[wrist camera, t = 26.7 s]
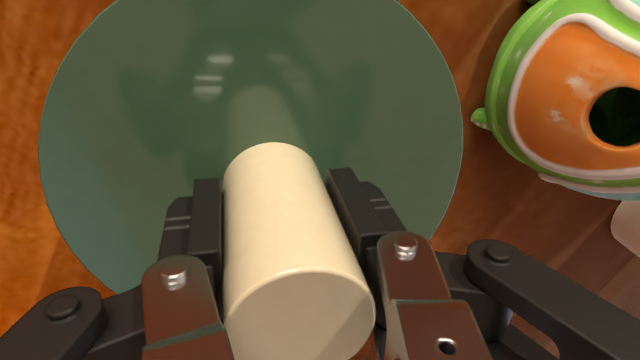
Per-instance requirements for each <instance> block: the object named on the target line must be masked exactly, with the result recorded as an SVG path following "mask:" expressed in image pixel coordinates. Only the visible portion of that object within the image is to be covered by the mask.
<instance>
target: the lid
mask: <svg viewBox="0 0 640 360" xmlns="http://www.w3.org/2000/svg"><path fill="white" fill-rule="evenodd" d="M462 153H463V120H462V113H461V106H460V100H459V96H458V93H457V89H456V86H455V83H454V79H453V76H452V74H451V72H450V70H449V68H448V65H447V63H446V61H445V59H444V57H443V54H442V53H441V51H440V50H439V48H438V47H437V45H436V44H435V42H434V41H433V39H432V38H431V36H430V34H429V33H428V31H427V30H426V29H425V28H424V27H423V26H422V25H421V24H420V23H419V21H418V20H417V19H416V18H415V17H414V16H413V15H412V14H411V12H410V11H409V10H407V9H406V8H405V7H404V6H403V5H401V4H400V3H399V2H398V1H397V0H116V1H114V2H113V3H112V4H111V5H109V6H108V7H107V8H105V9H104V10H103V11H102V12H100V13H99V14H98V15H97V16H96V18H95V19H94V20H93V21H92V22H91V23H90V24H89V25H88V26H87V27H86V28H85V29H84V31H83V32H82V33H81V34H80V35H79V36H78V37H77V38H76V40H75V41H74V43H73V44H72V46H71V48H70V49H69V51H68V52H67V54H66V55H65V57H64V58H63V60H62V61H61V63H60V64H59V66H58V69H57V71H56V73H55V76H54V78H53V80H52V82H51V85H50V87H49V89H48V92H47V94H46V98H45V102H44V106H43V111H42V115H41V119H40V124H39V137H38V161H39V172H40V180H41V184H42V188H43V191H44V195H45V199H46V203H47V206H48V208H49V211H50V213H51V215H52V217H53V220H54V222H55V224H56V227H57V229H58V230H59V232H60V234H61V235H62V237H63V238H64V240H65V242H66V243H67V245H68V246H69V248H70V250H71V251H72V252H73V253H74V254H75V256H76V257H77V258H78V259H79V260H80V262H81V263H82V264H83V265H84V266H85V268H86V269H87V270H88V271H89V272H90V273H92V274H93V275H94V276H95V277H96V278H97V279H98V280H99V281H100V282H101V283H103V284H104V285H105V286H106V287H107V288H109V289H110V290H112V291H113V292H115V293H116V294H120V293H123V292H126V291H128V290H130V289H133V288H135V287H136V286H138V285H140V284H141V280H142V276H143V274H144V272H145V271H146V270H147V269H148V268H149V267H150V266H151V265H152V264H154V263H155V262H157V258H158V253H159V248H160V243H161V238H162V233H163V230H164V223H165V221H166V220H165V218H166V213H167V208H168V207H169V206H170V205H171V204H172V202H173V201H174V200H175V199H176V198H177V197H187V196H193V189H194V180H195V179H205V178H217V177H220V180H221V188H222V230H223V281H222V323H224V325H225V327H226V330H227V334H228V337H229V341H230V344H231V348H232V352H233V355H234V359H235V360H349V359H350V358H352V357H353V356H354V355H355V354H356V353H357V352H358V351H359V350H360V349H361V348H362V347H363V346H364V344H365V343H366V342H367V340H368V339H369V337H370V335H371V333H372V331H373V328H374V325H375V320H376V303H375V300H374V297H373V294H372V292H371V290H370V287H369V285H368V283H367V280H366V278H365V276H364V273H363V271H362V269H361V267H360V264H359V262H358V260H357V257H356V255H355V253H354V250H353V248H352V246H351V243H350V241H349V239H348V237H347V234H346V232H345V230H344V227H343V225H342V223H341V220H340V218H339V216H338V213H337V211H336V209H335V207H334V204H333V202H332V200H331V197H330V195H329V193H328V190H327V188H326V186H325V177H326V170H327V169H333V168H346V167H351V168H352V170H353V171H354V173H355V175H356V177H357V178H358V180H359V182H364V181H369V182H370V183H372V184H374V185H375V186H377V187H378V188H380V189H381V191H382V192H383V194H384V196H385V197H386V200H388V202H389V203H390V205H391V208H393V209H394V211H395V212H396V214H397V215H398V217H399V219H400V220H401V222H402V223H403V225H404V226H405V228H406V229H407V231H408V232H412V233H416V234H418V235H420V236H422V237H424V238H425V239H427V240H428V241H429V240H430V238H431V237H432V235H433V234H434V233H435V231H436V230H437V228H438V226H439V224H440V222H441V220H442V219H443V217H444V215H445V213H446V211H447V209H448V206H449V204H450V201H451V199H452V196H453V194H454V191H455V188H456V184H457V180H458V176H459V173H460V168H461V161H462Z"/></svg>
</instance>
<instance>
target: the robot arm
mask: <svg viewBox="0 0 640 360" xmlns="http://www.w3.org/2000/svg"><path fill="white" fill-rule="evenodd" d="M325 186H326V188H327V190H328V193H329V195H330V197H331V200H332V202H333V204H334V207H335V209H336V211H337V213H338V216H339V218H340V220H341V223H342V225H343V227H344V230H345V232H346V234H347V237H348V239H349V241H350V243H351V246H352V248H353V250H354V253H355V255H356V257H357V260H358V262H359V264H360V267H361V269H362V271H363V273H364V276H365V278H366V280H367V283H368V285H369V287H370V290H371V292H372V294H373V297H374V300H375V303H376V320H375V325H374V328H373V331H372V333H371V335H370V337H371V345H372V352H373V359H374V360H640V320H638V319H637V318H635V317H633V316H632V315H630V314H628V313H626V312H625V311H623V310H621V309H620V308H618V307H616V306H614V305H613V304H611V303H609V302H608V301H606V300H604V299H602V298H601V297H599V296H597V295H596V294H594V293H592V292H590V291H589V290H587V289H585V288H584V287H582V286H580V285H578V284H577V283H575V282H573V281H572V280H570V279H568V278H566V277H565V276H563V275H561V274H560V273H558V272H556V271H555V270H553V269H551V268H549V267H548V266H546V265H544V264H543V263H541V262H539V261H537V260H536V259H534V258H532V257H531V256H529V255H527V254H525V253H524V252H522V251H520V250H519V249H517V248H515V247H513V246H511V245H509V244H507V243H504V242H501V241H497V240H490V239H484V240H478V241H475V242H473V243H471V244H470V245H469V247H468V249H467V254H466V255H459V254H450V253H442V252H437V251H434V249H433V247H432V245H431V243H430V242H429V241H428V240H427V239H425V238H424V237H422V236H420V235H418V234H416V233H412V232H408V231H407V229H406V228H405V226H404V225H403V223H402V222H401V220H400V219H399V217H398V215H397V214H396V212H395V211H394V209H393V208H391V205H390V203H389V202H388V200H386V197H385V196H384V194H383V192H382V191H381V189H380V188H378V187H377V186H375V185H374V184H372V183H370V182H369V181H364V182H359V180H358V178H357V177H356V175H355V173H354V171H353V170H352V168H351V167H346V168H333V169H327V170H326V177H325ZM165 220H166V221H165V223H164V230H163V233H162V238H161V243H160V248H159V253H158V258H157V262H155V263H154V264H152V265H151V266H150V267H149V268H148V269H147V270H146V271H145V272H144V274H143V276H142V280H141V284H140V285H138V286H136V287H135V288H133V289H130V290H128V291H126V292H123V293H120V294H117V295H114V296H111V297H108V298H105V299H102V296H101V295H100V293H99V292H98V291H96V290H95V289H93V288H89V287H72V288H67V289H63V290H60V291H57V292H55V293H53V294H50V295H49V296H47V297H45V298H43V299H42V300H41V301H39V302H38V303H37V304H35V305H34V306H33V307H32V308H31V309H30V310H29V311H28V312H27V313H26V314H25V315H24V316H23V317H22V318H20V319H19V320H18V321H17V322H16V323H15V324H14V325H13V326H12V327H11V328H10V329H9V330H8V331H7V332H6V333H4V334H3V335H2V336H1V337H0V360H235V359H234V355H233V352H232V348H231V344H230V341H229V337H228V334H227V330H226V327H225V325H224V323H222V281H223V230H222V188H221V180H220V177H217V178H205V179H195V180H194V189H193V196H187V197H177V198H176V199H175V200H174V201H173V202H172V204H171V205H170V206H169V207H168V208H167V213H166V218H165ZM513 312H515V313H516V314H518V315H519V316H521V317H522V318H523V319H525V320H526V321H528V322H529V323H530V324H532V325H533V326H535V327H536V328H537V329H539V330H540V331H542V332H543V333H545V334H546V335H547V336H549V337H550V338H551V339H552V340H553V341H554V342H555V344H556V345H557V347H558V349H559V352H560V359H557V358H556V357H555V356H553V355H552V354H551V353H549V352H548V351H547V350H545V349H544V348H543V347H541V346H540V345H538V344H537V343H536V342H534V341H533V340H532V339H530V338H529V337H528V336H526V335H525V334H524V333H522V332H521V331H519V330H518V329H517V328H515V327H514V326H513V325H511V324H510V320H511V317H512V314H513Z"/></svg>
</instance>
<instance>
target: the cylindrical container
mask: <svg viewBox="0 0 640 360" xmlns="http://www.w3.org/2000/svg"><path fill="white" fill-rule="evenodd" d="M611 233H612V235H613V237H614V238H615V239H616V240H617V241H618V242H620V243H621V244H622V245H624V246H625V247H626V248H628V249H629V250H630V251H632V252H633V253H634V254H636V255H637V256H638V257H640V201H622V202H621V203H620V204H619V206H618V207H617V209H616V211H615V213H614V215H613V217H612V221H611Z"/></svg>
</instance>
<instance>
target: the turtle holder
mask: <svg viewBox="0 0 640 360" xmlns="http://www.w3.org/2000/svg"><path fill="white" fill-rule="evenodd" d="M525 1H527V2H528V3H530V4H532V5H534V6H532V7H531V8H529V9H528V10H527V11H526V12H525V13H524V14H523V15H522V16H521V17H520V18H519V19H518V20H517V21H516V23H515V24H514V25H513V26H512V28H511V29H510V30H509V32H508V33H507V35H506V37H505V38H504V40H503V41H502V43H501V45H500V47H499V50H498V52H497V55H496V58H495V61H494V63H493V66H492V69H491V72H490V75H489V78H488V81H487V86H486V91H485V108H478V109H476V110H475V111H474V113H473V114H472V116H471V122H472V123H473V124H475V125H476V126H478V127H480V128H483V129H486V130H489V131H491V132H492V133H493V135H494V137H495V138H496V140H497V141H498V142H499V144H500V145H501V146H502V147H503V148H504V149H505V150H506V151H507V152H508V153H509V154H510V155H511V156H512V157H514V158H515V159H516V160H518V161H520V162H522V163H524V164H526V165H528V166H529V167H530V168H532V169H533V170H535V171H536V172H537V173H538V176H539V177H540V178H541V179H542V180H545V181H547V182H551V183H557V184H559V185H561V186H564V187H566V188H569V189H571V190H574V191H578V192H581V193H584V194H588V195H591V196H596V197H601V198H606V199H613V200H621V201H640V0H525Z"/></svg>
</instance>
